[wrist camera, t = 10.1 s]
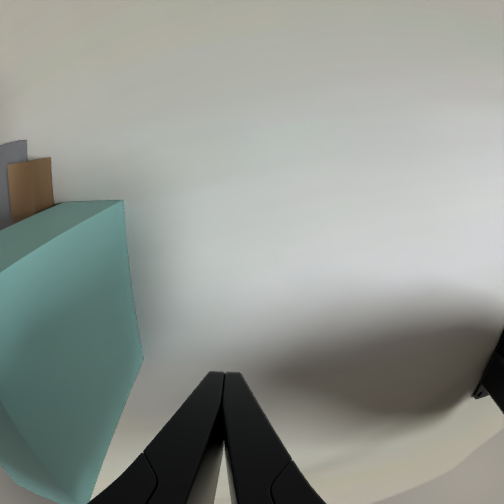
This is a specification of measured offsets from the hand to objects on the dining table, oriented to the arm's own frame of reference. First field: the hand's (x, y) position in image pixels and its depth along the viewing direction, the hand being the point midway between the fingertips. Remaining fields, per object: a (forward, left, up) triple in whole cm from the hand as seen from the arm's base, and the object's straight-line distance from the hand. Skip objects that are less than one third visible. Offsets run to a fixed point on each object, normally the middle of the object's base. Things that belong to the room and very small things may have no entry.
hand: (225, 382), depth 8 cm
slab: (+6, 0, -6) cm, 8 cm away
